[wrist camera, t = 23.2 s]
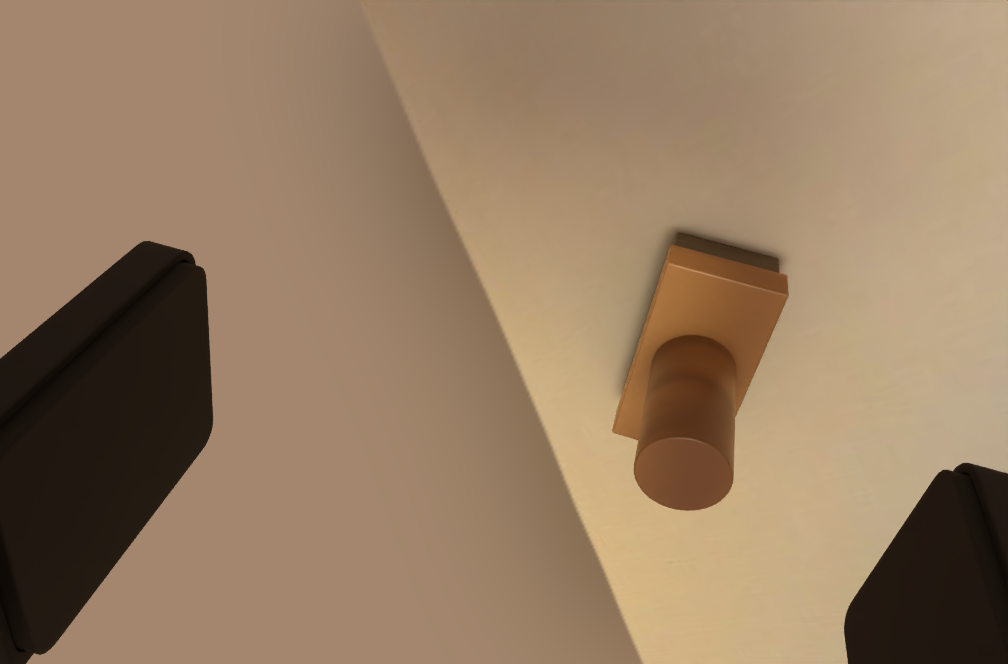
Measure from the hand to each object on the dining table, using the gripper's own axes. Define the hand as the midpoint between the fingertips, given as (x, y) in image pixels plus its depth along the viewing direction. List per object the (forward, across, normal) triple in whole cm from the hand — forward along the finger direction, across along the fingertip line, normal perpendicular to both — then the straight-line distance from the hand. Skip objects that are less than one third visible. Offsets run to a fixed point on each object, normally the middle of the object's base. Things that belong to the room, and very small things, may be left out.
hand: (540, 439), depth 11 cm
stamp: (+22, -5, +12) cm, 25 cm away
